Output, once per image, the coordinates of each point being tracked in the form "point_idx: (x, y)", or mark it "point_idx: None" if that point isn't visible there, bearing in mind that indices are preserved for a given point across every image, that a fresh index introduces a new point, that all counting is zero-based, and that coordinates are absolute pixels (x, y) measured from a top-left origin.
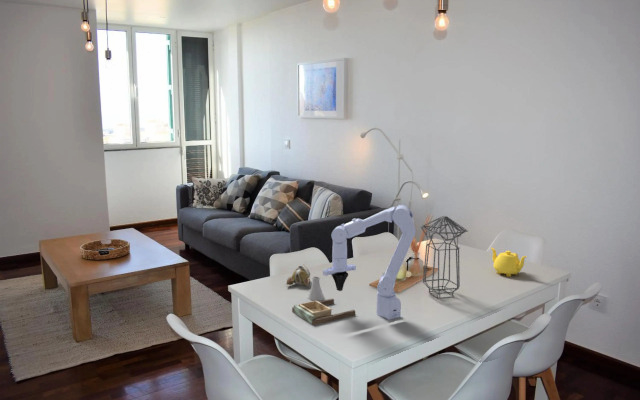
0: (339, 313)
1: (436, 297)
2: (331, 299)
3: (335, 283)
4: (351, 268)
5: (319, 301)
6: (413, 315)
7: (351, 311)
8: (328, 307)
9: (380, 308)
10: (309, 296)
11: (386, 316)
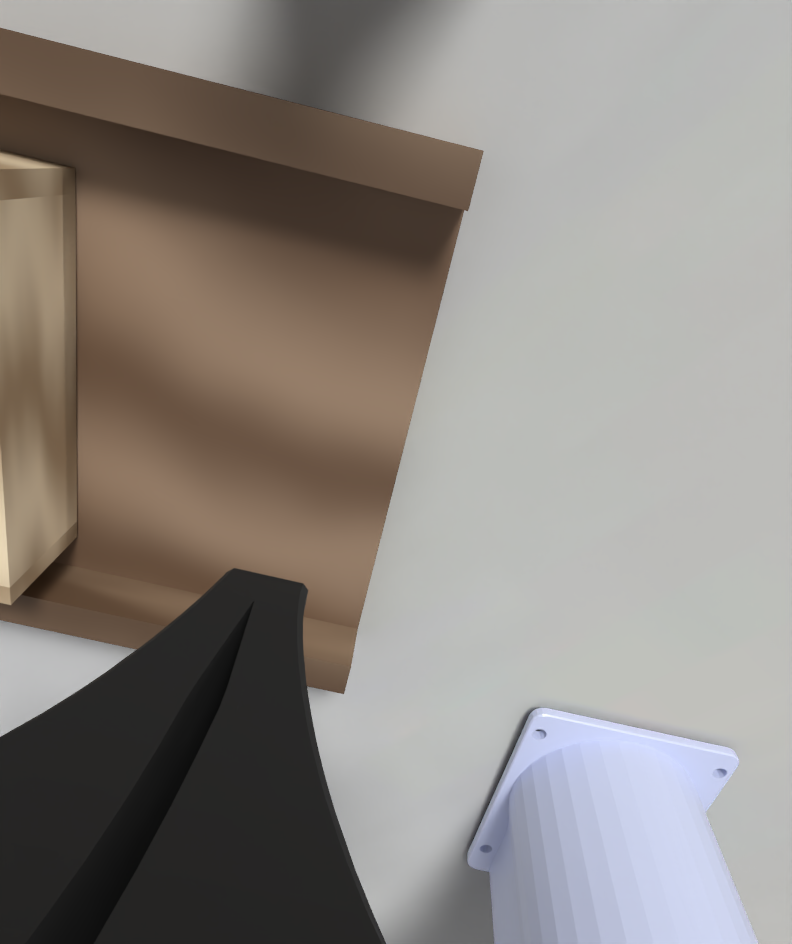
0: (135, 626)
1: None
2: (430, 178)
3: (138, 657)
4: None
5: (181, 83)
6: (756, 914)
7: None
8: (6, 545)
9: (517, 891)
10: None
11: (498, 880)
